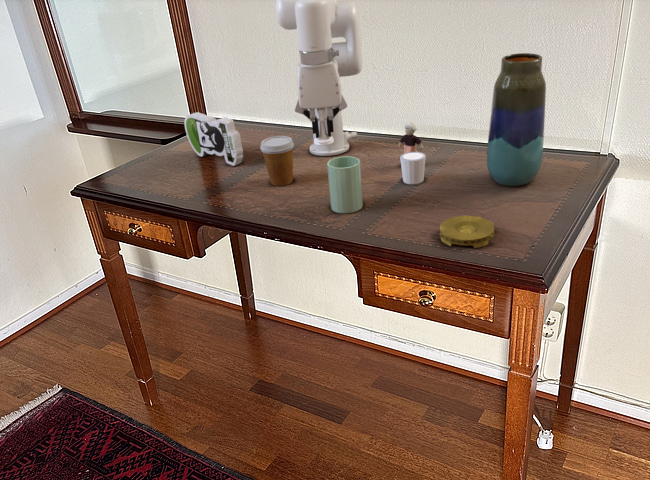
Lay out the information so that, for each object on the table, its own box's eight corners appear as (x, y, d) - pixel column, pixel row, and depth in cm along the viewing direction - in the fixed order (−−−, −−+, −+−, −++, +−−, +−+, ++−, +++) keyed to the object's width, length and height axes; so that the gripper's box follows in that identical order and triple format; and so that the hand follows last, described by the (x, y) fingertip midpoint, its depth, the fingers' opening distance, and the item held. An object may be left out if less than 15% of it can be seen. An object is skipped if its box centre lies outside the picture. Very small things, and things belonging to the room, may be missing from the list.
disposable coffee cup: (283, 172, 187) (277, 133, 180) (305, 179, 181) (300, 138, 174) (258, 183, 182) (252, 143, 175) (280, 190, 176) (274, 149, 169)
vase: (549, 176, 167) (563, 53, 150) (523, 195, 159) (535, 66, 142) (502, 167, 175) (509, 49, 158) (475, 184, 167) (480, 61, 150)
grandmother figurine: (396, 167, 182) (394, 124, 175) (399, 162, 185) (398, 120, 178) (422, 169, 179) (422, 125, 173) (425, 164, 182) (425, 120, 176)
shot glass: (429, 176, 174) (429, 152, 171) (421, 186, 169) (421, 161, 166) (405, 174, 177) (404, 150, 173) (397, 184, 172) (396, 159, 168)
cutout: (239, 121, 188) (188, 104, 202) (232, 124, 186) (181, 106, 201) (245, 168, 197) (195, 149, 211) (238, 171, 195) (188, 151, 209)
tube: (351, 197, 168) (348, 153, 161) (368, 206, 161) (366, 162, 155) (325, 205, 164) (321, 162, 158) (341, 216, 158) (338, 171, 152)
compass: (434, 245, 141) (434, 237, 140) (445, 222, 150) (445, 214, 149) (489, 250, 137) (490, 241, 136) (497, 226, 146) (497, 217, 145)
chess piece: (331, 145, 152) (328, 103, 147) (311, 145, 153) (307, 104, 148) (335, 138, 156) (332, 97, 150) (316, 138, 157) (312, 98, 152)
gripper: (351, 50, 146) (355, 128, 156) (282, 56, 147) (291, 133, 157) (352, 57, 140) (357, 138, 150) (280, 64, 141) (290, 143, 151)
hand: (323, 135), depth 154 cm, fingers closed on chess piece
